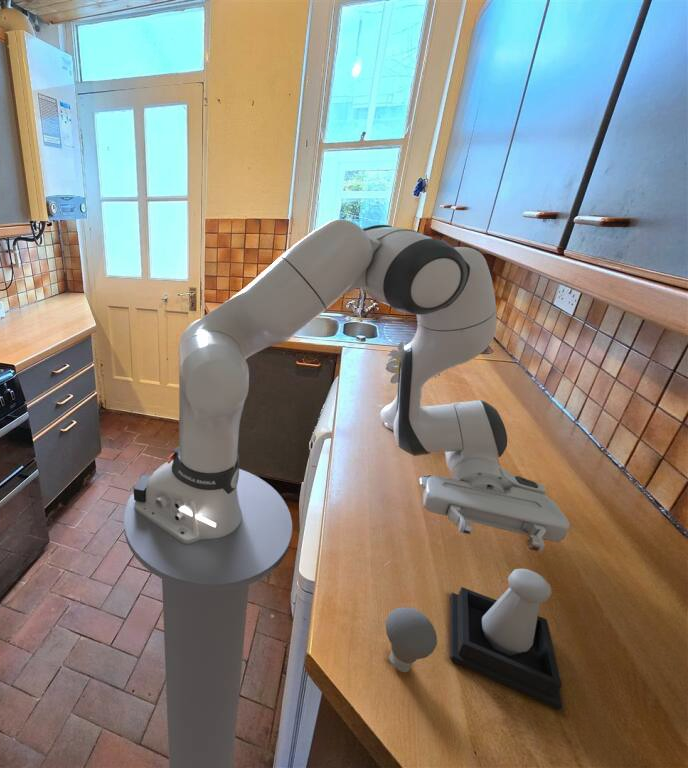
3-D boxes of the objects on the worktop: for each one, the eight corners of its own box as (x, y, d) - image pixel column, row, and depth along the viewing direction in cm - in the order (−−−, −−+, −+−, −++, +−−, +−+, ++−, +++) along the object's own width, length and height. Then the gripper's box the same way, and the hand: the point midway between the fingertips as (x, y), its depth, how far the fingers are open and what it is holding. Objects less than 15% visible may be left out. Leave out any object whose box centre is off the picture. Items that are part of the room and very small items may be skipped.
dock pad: (450, 660, 58) (457, 644, 56) (450, 596, 67) (456, 581, 66) (560, 710, 52) (570, 694, 51) (543, 632, 61) (552, 617, 60)
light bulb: (429, 664, 57) (448, 617, 53) (414, 697, 54) (434, 650, 49) (385, 634, 61) (399, 589, 57) (369, 664, 58) (383, 617, 53)
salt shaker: (529, 670, 56) (565, 606, 50) (478, 648, 58) (508, 585, 53) (522, 634, 60) (556, 572, 55) (476, 615, 63) (503, 554, 57)
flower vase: (367, 436, 112) (385, 351, 101) (377, 409, 126) (395, 332, 115) (420, 450, 105) (446, 361, 95) (425, 420, 119) (448, 339, 109)
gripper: (422, 460, 79) (431, 505, 67) (555, 487, 71) (590, 543, 60) (414, 486, 81) (421, 534, 70) (541, 514, 74) (573, 573, 62)
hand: (500, 538), depth 65 cm, fingers open, 8 cm apart
